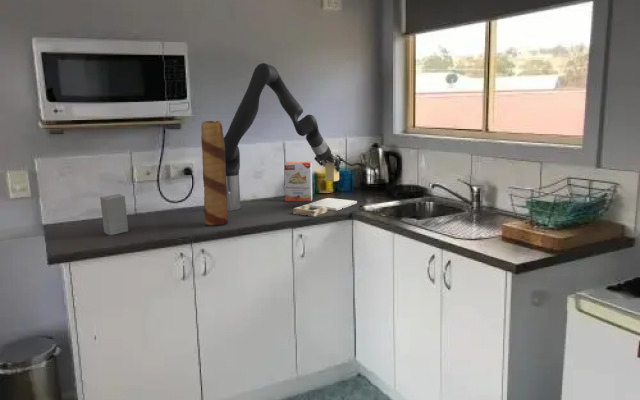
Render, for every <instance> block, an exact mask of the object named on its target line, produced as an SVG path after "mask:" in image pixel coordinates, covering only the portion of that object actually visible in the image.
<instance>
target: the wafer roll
mask: <svg viewBox="0 0 640 400" xmlns="http://www.w3.org/2000/svg"><path fill="white" fill-rule="evenodd" d="M200 127H201V130H200V131H201V143H200V144H201V153H202V155H201V156H202V180H203V188H204V189H203V190H204V191H203V196H204V197H203V200H204V201H203V203H204V204H203V209H204V210H203V212H204V222H205V223H204V224H205V225H207V226H220V225H221V226H222V225H226V224H228V223H229V211H228V209H227V187H226V162H225V142H224V137H225V135H224V132H223V124H222V122H221V121H220V120H216V121H214V120H205V121H202V123H201V126H200Z"/></svg>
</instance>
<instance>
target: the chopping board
mask: <svg viewBox="0 0 640 400" xmlns="http://www.w3.org/2000/svg"><path fill="white" fill-rule="evenodd" d="M308 204H309V207H310V209H311V208H312V209H318V208H321V207H324V206H325V207H327V211H339V210H343V209H345V208H349V207H350V206H353V205H357V204H358V201H357V200H353V199H344V198H343V199H340V198H333V197H327V198H322V199H319V200H316V201H313V202H309V203H308ZM342 208H343V209H342Z"/></svg>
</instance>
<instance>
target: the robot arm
mask: <svg viewBox="0 0 640 400" xmlns="http://www.w3.org/2000/svg"><path fill="white" fill-rule="evenodd" d="M251 75H252V76H251V78H250V82H249V84H248V87H247V89H246V91H245V92H244V95H243V97H242V100H241V102H240V103H239V105H238V108H237V110H236V111H235V113H234V116H233V118H232V120H231V122H230V125H229V127H228V130H227V132H226V133H225V135H224V142H225V162H226V187H227V209H228V212H230V211H237V210H240V209H241V208H242V207H241V188H240V168H241V156H240V155H241V154H240V152H241V151H240V148H239V146H238V145H239V143H240V141H241V139H242V138H243V137H244V136H245V134H246V133H247V132H248V130H249V129H250V127H251V126H252V125H253V124H254V121H255V119H256V117H257V114H258V112H259V107H260V99H261V94H262V92H263V90H264V88H265V86H268V87H269V88H270V89H271V90H272V91H273V92H274V93H275V96H277V99H278V100H279V103H280V105H281V107H282V108H283V110H284V111H285V112H286V113H287V115H288V117H289V118H290V120H291V122H292V124H293V126H294V129H295V132H296V133H297V134H298V135H299V136H301V137H305V139H306V142H307V143H308V145H309V146H310V149H311V150H312V152H313V153H314V155H315V156H314V159H313V160H315V162H317V164H319V166H321V167H322V166H323V167H325V165H326V163H330V164H331V165H333V166H334V167H335V169H336V170H337V172H339V173H340V170H341V167H340V165H341V163H342V162H341V158H340V156H339V155H336V156H337V157H334V156H335V155H333V153H332V150H331V148H330V147H329V145H328V143H327V141H326V140H325V139H324V138H323V136H322V135H321V133H320V130H319V124H318V121H317V118H316V117H315V116H314V115H312V114H306V115H305V116H304V117H302V118H301V119H300V120H299V118H300V117H301V116H302V114H303V112H304V109H303V107H302V106H301V105H300V103H299V102H298V101H297V100H296V97H295V96H293V94H292V93H291V92H290V91H289V89H288V87H287V86H286V84H285V82H284V81H283V79H282V77H281V75H280V73H279V71H278V70H277V68H275V66H273V65H271V64H267V63H265V62H262V63H261V62H260V63H259V64H257V66H256V67H255V68H254V70H253V73H252V74H251ZM333 159H334V161H333ZM334 163H336V164H334Z"/></svg>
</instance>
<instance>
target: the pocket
mask: <svg viewBox="0 0 640 400" xmlns="http://www.w3.org/2000/svg"><path fill="white" fill-rule="evenodd" d="M309 204H310V203H307V204H303V205H300V206H297V207H294V208H293V209H292V214H293V215H299V214H300V216H306V215H308V217H313V216H314V217H317V216H320V215H323V214H325V213H328V210H327V207H325V206H324V207H321V208H314V209H311V207H309Z"/></svg>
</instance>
